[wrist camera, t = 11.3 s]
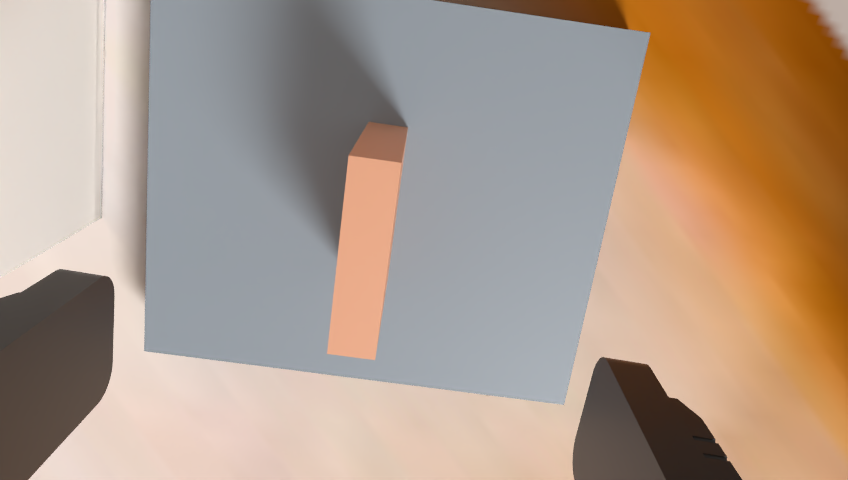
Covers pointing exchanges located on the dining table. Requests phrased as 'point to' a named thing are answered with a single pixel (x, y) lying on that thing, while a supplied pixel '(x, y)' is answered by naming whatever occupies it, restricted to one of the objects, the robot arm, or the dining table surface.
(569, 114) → the lid
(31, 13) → the box
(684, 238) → the dining table surface
